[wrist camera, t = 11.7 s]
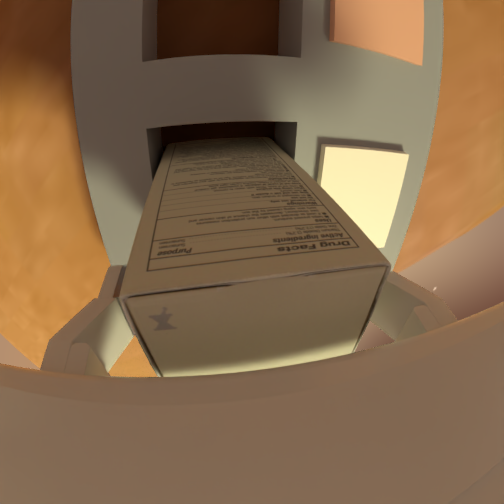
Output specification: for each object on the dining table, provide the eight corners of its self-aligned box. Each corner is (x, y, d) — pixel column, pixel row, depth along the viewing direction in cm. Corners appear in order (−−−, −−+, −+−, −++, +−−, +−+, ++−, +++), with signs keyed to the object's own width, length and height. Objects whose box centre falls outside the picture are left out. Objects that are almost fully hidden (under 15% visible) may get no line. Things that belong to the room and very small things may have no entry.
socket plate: (135, 267, 19) (126, 313, 16) (110, -67, 5) (87, -95, 1) (365, 248, 22) (391, 284, 18) (399, -43, 8) (441, -54, 4)
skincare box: (174, 207, 17) (158, 393, 8) (166, 139, 14) (105, 295, 5) (272, 199, 18) (350, 366, 8) (275, 132, 15) (399, 263, 6)
